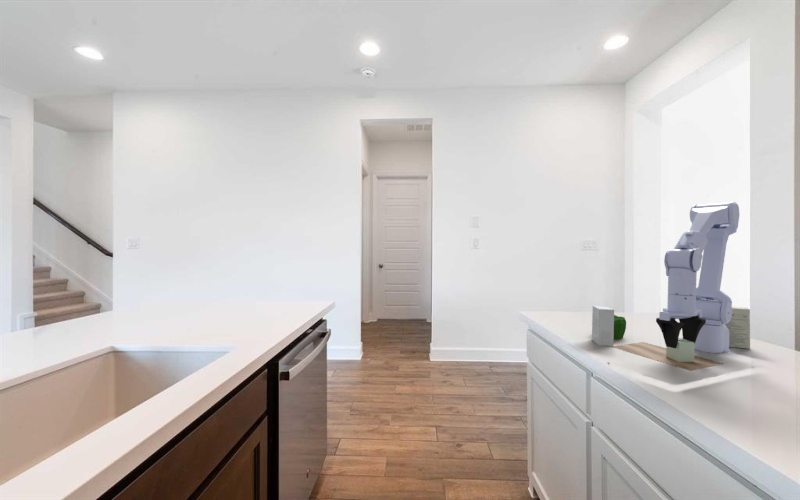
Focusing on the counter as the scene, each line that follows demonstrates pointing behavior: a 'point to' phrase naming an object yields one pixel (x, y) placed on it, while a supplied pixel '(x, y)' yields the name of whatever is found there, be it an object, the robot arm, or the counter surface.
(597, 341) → the skincare box
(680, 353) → the sage cube with dome
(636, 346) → the board
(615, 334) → the bell pepper
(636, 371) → the counter surface
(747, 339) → the skincare box
